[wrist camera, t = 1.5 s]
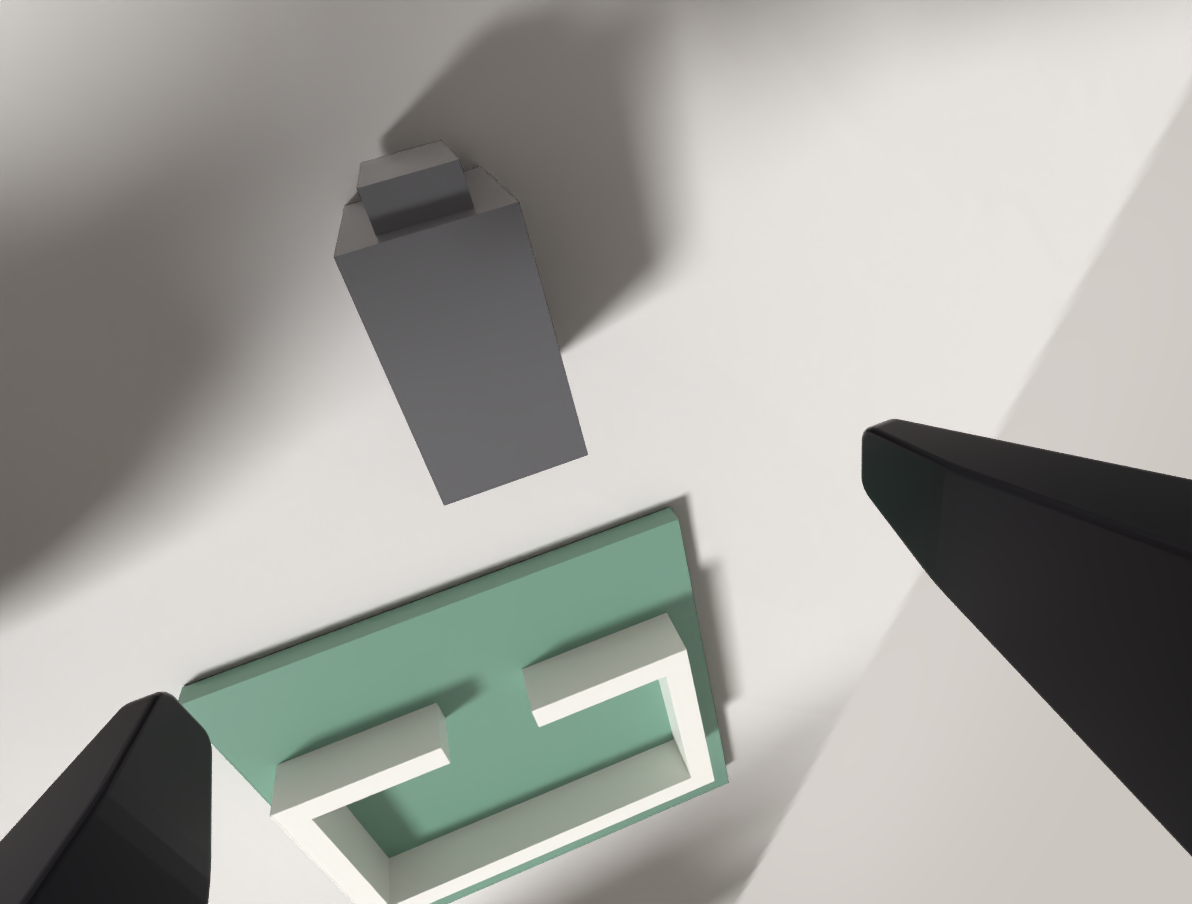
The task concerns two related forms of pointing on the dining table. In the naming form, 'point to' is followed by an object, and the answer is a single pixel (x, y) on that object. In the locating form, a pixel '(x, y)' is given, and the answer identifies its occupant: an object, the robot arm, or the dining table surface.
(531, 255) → the plug
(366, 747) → the board
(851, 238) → the dining table surface
